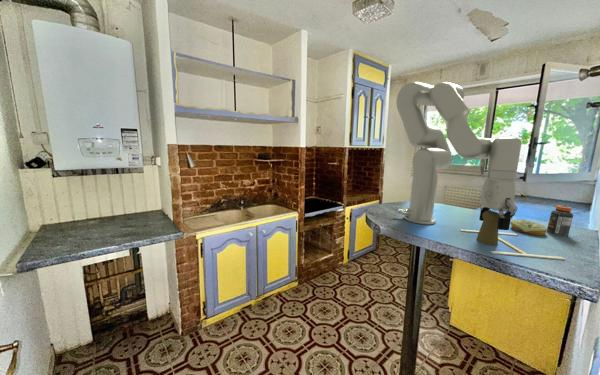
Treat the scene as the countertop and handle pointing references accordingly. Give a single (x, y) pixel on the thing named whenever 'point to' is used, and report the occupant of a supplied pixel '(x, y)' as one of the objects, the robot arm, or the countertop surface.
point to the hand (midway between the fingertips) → (493, 224)
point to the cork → (489, 228)
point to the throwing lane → (516, 248)
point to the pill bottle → (560, 221)
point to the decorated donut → (528, 227)
